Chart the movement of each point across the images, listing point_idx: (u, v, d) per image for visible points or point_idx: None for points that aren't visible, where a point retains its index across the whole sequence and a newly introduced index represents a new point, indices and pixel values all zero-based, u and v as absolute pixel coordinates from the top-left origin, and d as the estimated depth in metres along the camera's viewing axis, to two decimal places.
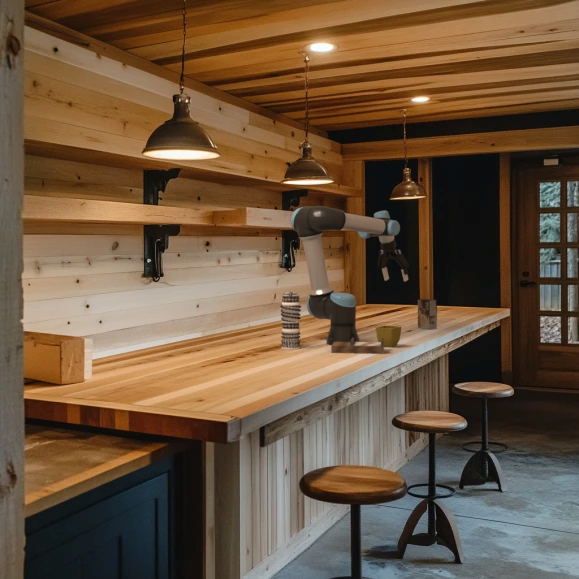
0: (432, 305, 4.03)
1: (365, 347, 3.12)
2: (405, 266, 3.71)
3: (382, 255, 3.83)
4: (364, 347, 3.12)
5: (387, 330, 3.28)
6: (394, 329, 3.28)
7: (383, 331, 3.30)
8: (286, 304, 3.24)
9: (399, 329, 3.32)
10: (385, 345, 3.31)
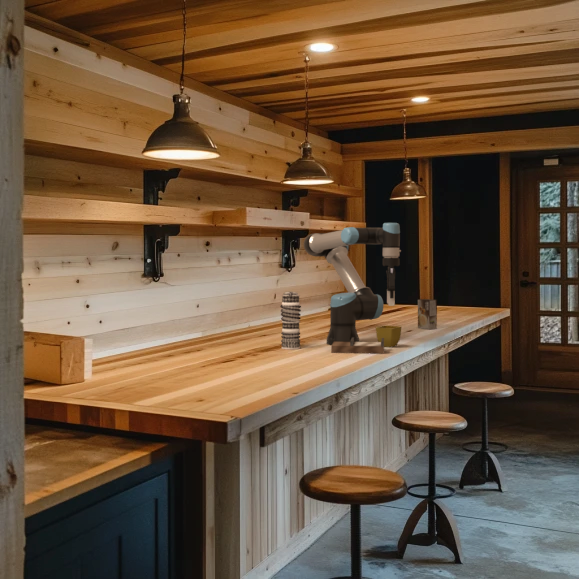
0: (432, 305, 4.03)
1: (365, 347, 3.12)
2: (389, 287, 3.23)
3: None
4: (364, 347, 3.12)
5: (387, 330, 3.28)
6: (394, 329, 3.28)
7: (383, 331, 3.30)
8: (286, 304, 3.24)
9: (399, 329, 3.32)
10: (385, 345, 3.31)
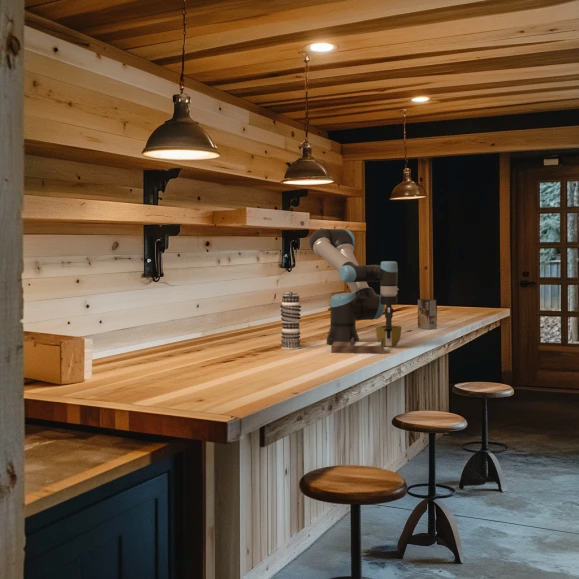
0: (432, 305, 4.03)
1: (365, 347, 3.12)
2: None
3: None
4: (364, 347, 3.12)
5: None
6: (394, 329, 3.28)
7: (383, 331, 3.30)
8: (286, 304, 3.24)
9: (399, 329, 3.32)
10: (385, 345, 3.31)
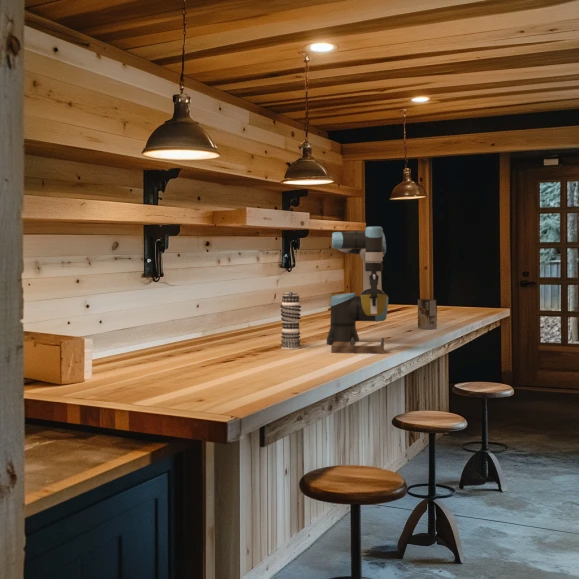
0: (432, 305, 4.03)
1: (365, 347, 3.12)
2: (371, 295, 3.12)
3: None
4: (364, 347, 3.12)
5: None
6: (380, 297, 3.16)
7: (368, 299, 3.17)
8: (286, 304, 3.24)
9: (385, 297, 3.20)
10: (370, 313, 3.19)
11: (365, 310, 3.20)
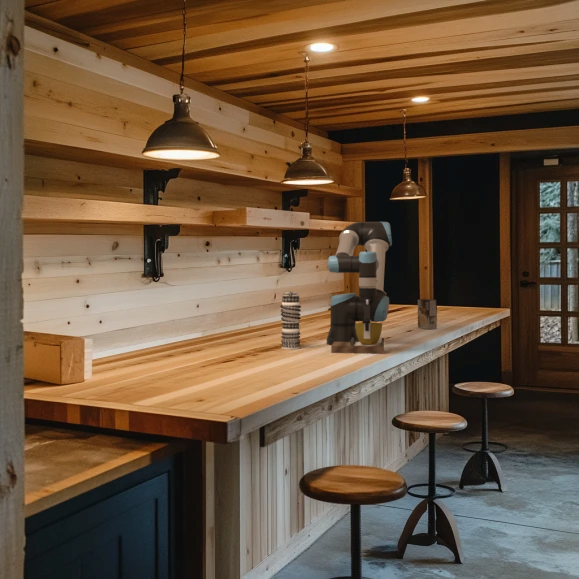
0: (432, 305, 4.03)
1: (365, 347, 3.12)
2: (363, 320, 3.08)
3: None
4: (364, 347, 3.12)
5: None
6: (375, 325, 3.12)
7: (363, 327, 3.14)
8: (286, 304, 3.24)
9: (380, 325, 3.16)
10: (365, 342, 3.15)
11: (360, 338, 3.16)
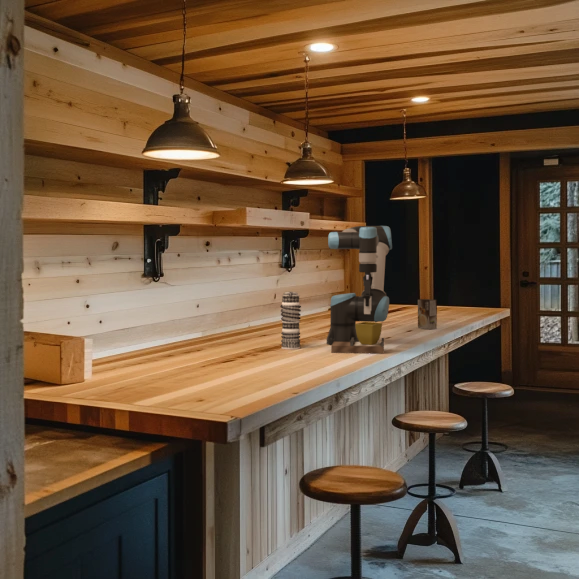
0: (432, 305, 4.03)
1: (365, 347, 3.12)
2: (364, 295, 3.08)
3: None
4: (364, 347, 3.12)
5: (367, 327, 3.12)
6: (375, 326, 3.12)
7: (363, 328, 3.13)
8: (286, 304, 3.24)
9: (380, 326, 3.16)
10: (365, 342, 3.15)
11: (360, 339, 3.15)
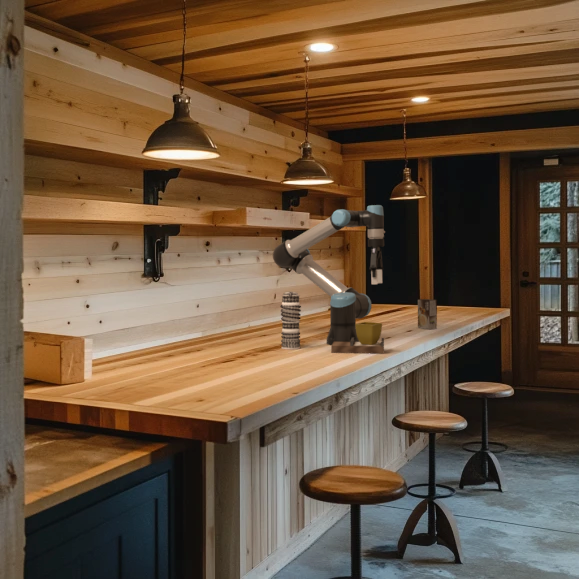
0: (432, 305, 4.03)
1: (365, 347, 3.12)
2: (370, 266, 3.38)
3: None
4: (364, 347, 3.12)
5: (367, 327, 3.12)
6: (375, 326, 3.12)
7: (363, 328, 3.13)
8: (286, 304, 3.24)
9: (380, 326, 3.16)
10: (365, 342, 3.15)
11: (360, 339, 3.15)
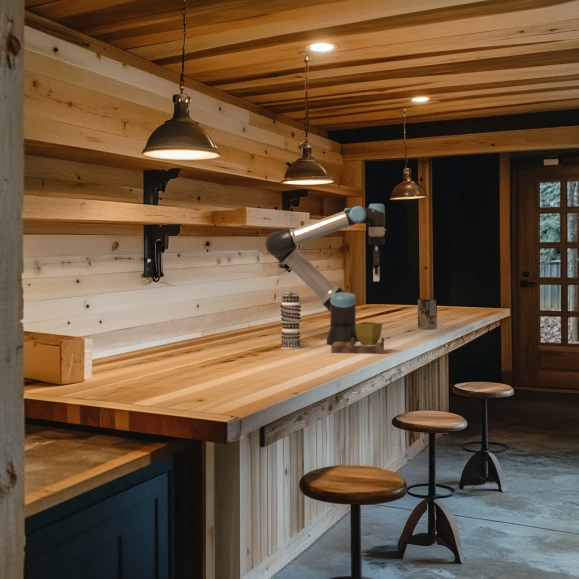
0: (432, 305, 4.03)
1: (365, 347, 3.12)
2: (373, 264, 3.44)
3: None
4: (364, 347, 3.12)
5: (367, 327, 3.12)
6: (375, 326, 3.12)
7: (363, 328, 3.13)
8: (286, 304, 3.24)
9: (380, 326, 3.16)
10: (365, 342, 3.15)
11: (360, 339, 3.15)
